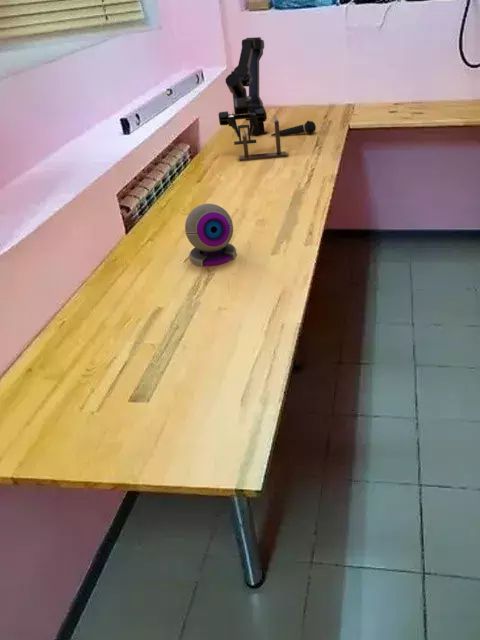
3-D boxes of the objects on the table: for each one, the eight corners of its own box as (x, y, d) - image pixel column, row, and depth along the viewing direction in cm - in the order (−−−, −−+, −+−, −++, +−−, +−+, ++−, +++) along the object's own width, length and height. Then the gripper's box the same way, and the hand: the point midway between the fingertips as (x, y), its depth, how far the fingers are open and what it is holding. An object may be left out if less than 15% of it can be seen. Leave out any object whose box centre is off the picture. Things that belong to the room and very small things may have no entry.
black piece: (234, 144, 251) (232, 126, 247) (256, 141, 251) (254, 123, 247) (234, 145, 249) (232, 126, 245) (256, 142, 250) (254, 124, 246)
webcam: (197, 270, 166) (188, 217, 157) (184, 253, 176) (176, 202, 167) (242, 260, 170) (236, 207, 161) (228, 243, 180) (221, 193, 171)
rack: (238, 155, 253) (235, 119, 245) (285, 151, 254) (282, 115, 246) (239, 161, 246) (235, 124, 238) (287, 156, 247) (284, 120, 239)
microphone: (272, 144, 274) (317, 135, 272) (270, 132, 270) (315, 123, 268) (272, 137, 277) (315, 128, 276) (269, 125, 273) (314, 116, 271)
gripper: (215, 90, 242) (219, 127, 239) (263, 86, 243) (267, 122, 240) (218, 107, 253) (221, 142, 250) (263, 103, 254) (267, 137, 251)
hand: (244, 135), depth 247 cm, fingers closed on black piece, 4 cm apart
